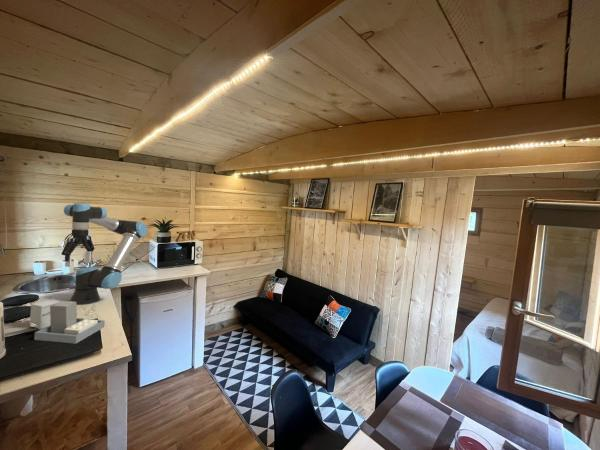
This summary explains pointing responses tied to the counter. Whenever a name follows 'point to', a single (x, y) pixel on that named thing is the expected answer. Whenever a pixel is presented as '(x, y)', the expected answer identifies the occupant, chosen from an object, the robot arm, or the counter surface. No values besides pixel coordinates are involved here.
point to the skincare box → (62, 316)
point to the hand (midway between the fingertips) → (78, 264)
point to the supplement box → (41, 313)
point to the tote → (67, 338)
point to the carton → (80, 326)
